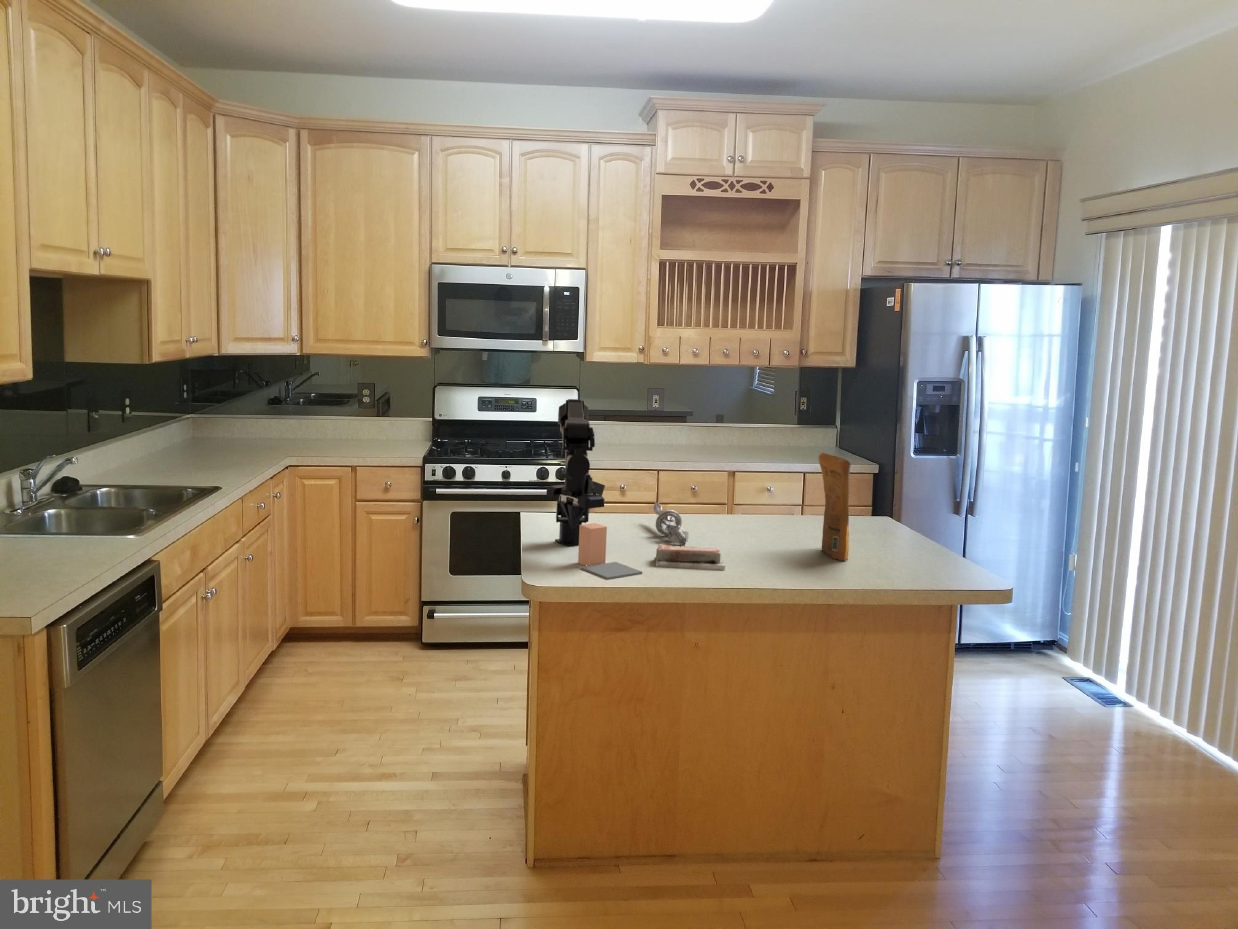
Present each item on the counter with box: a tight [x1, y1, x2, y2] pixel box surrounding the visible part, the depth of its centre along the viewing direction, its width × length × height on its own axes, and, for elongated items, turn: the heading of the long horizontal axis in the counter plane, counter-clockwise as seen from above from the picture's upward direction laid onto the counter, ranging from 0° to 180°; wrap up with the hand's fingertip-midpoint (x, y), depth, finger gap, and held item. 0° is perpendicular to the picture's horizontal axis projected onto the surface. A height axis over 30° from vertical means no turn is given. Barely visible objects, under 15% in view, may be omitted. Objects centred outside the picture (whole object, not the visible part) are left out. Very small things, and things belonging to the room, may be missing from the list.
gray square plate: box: [580, 561, 643, 580], centre depth 250 cm, size 11×11×1 cm
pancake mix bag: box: [818, 452, 852, 562], centre depth 277 cm, size 7×19×28 cm, turn 6°
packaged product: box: [655, 544, 726, 571], centre depth 261 cm, size 18×5×10 cm
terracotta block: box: [577, 522, 608, 566], centre depth 256 cm, size 5×5×10 cm
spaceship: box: [652, 502, 689, 547], centre depth 291 cm, size 8×35×8 cm
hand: (573, 528), depth 262 cm, fingers closed
